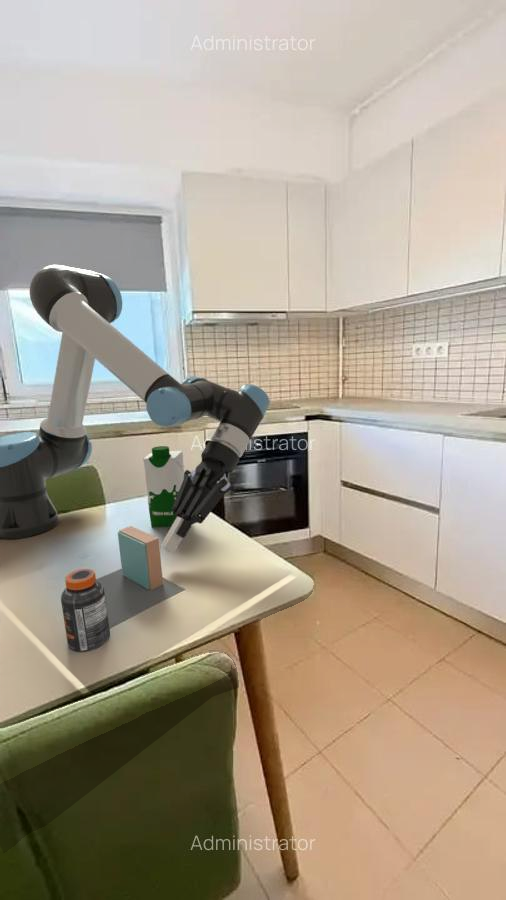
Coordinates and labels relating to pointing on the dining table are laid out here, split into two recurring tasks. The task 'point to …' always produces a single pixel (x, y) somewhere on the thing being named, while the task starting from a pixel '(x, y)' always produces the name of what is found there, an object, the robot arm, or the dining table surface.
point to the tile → (140, 557)
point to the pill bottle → (84, 611)
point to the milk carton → (163, 483)
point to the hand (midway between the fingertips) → (166, 549)
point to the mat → (131, 596)
